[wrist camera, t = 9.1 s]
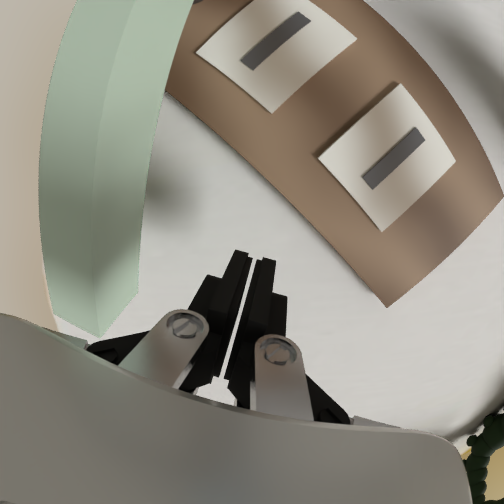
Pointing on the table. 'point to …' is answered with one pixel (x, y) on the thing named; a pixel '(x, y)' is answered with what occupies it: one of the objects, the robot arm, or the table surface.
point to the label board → (340, 128)
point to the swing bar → (102, 152)
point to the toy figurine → (483, 457)
